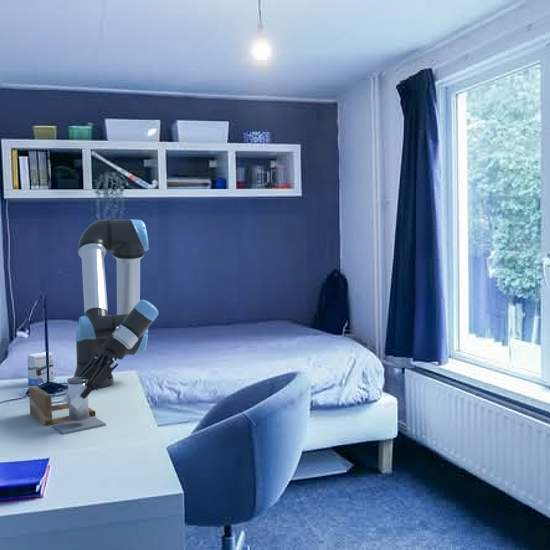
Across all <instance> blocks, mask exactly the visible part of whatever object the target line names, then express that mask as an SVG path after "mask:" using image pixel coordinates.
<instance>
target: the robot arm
mask: <svg viewBox="0 0 550 550" xmlns="http://www.w3.org/2000/svg"><path fill="white" fill-rule="evenodd" d="M149 249H150V247H149V237H148V232H147V226H146V224H145V222H144V221H143V220H141V219H132V218H129V219H128V218H126V219H99V220H96V221H94V222H91V224H89V225H88V226H87V228H85V230H84V231H82V234H81V235H80V238H79V241H78V245H77V251H78V257H80V258H81V271H82V291H83V307H84V308H83V309H84V315H82V316H79V318H78V328H77V329H76V330H75V331H76V332H75V343H76V346H75V347H76V348H75V349H76V352H75V353H76V367H75V371H74V375H73V377H88V383H85V385H86V386H87V387H86V386H85V385H84V386H83V388H82V389H81V390H80V391H79V393H78V394H77V395H76V396H75V397H74V399H73V400H72V401H71V402H70V404H71V405H73V406H74V407H75V408H76V409H78V407H79V406H80V405H81V404H82V403H83V401H84V400H85V399H86V398H87V396H88V397H89V395H90V394H91V393H92V392H94V391H98V390H99V389H101V388H100V387H102V388H107V387H109V385H110V386H111V384H112V385H113V384H114V375H113V373H112V372H113V371H114V370H115V369H116V368H117V367H118V366H119V363H117V359H118V360H119V361H121V360H123V359H124V358H125V357H126V356H135V355H141V354H143V353H144V352H145V351H146V349H147V346H148V339H149V338H148V337H149V336H148V335H149V334H148V332H149V327H150V326H151V325H152V324H153V322H154V321H155V320H156V319H157V317H158V316H159V310H158V309H157V307H156V306H154V305H153V304H152V303H151V302H149V301H148V300H146V299H141V259H143V258H144V257H145V252H147V251H149ZM107 252H112V253H111V255H112V257H113V258H114V259H115V260H116V314H109V311H108V307H109V306H108V296H107V282H106V270H105V269H106V268H105V257H106V255H107ZM106 386H107V387H106ZM62 400H63V401H65V403H68V404H69V397H68V392H67V393H66V394H65V395H64V396H63V398H62Z"/></svg>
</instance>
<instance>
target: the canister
mask: <svg viewBox="0 0 550 550" xmlns="http://www.w3.org/2000/svg"><path fill="white" fill-rule="evenodd" d="M66 380H67V393H68V397H69V408H68V414H69V415H68V416H69V420H71V421H81V420H85V419H88V418H90V417H89V409H88V407H89V395H88V396H87V398H86V399H85V400H84V401H83V403H82V404H81V405H80V406H79V407H78V409H76V408H75V407H74V406H73V405H71V404H70V402H71V401H72V400H73V399H74V397H75V396H76V395H77V394H78V393H79V391H80V390H81V389H82V388H83V386H84V385H85V383H88V377H74V376H73V377H69V378H68V379H66ZM85 386H86V385H85ZM86 387H87V386H86ZM71 421H70V422H71Z"/></svg>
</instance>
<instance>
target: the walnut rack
mask: <svg viewBox="0 0 550 550" xmlns="http://www.w3.org/2000/svg"><path fill="white" fill-rule="evenodd" d="M28 392H29V393H28V396H29V399H28V400H29V414H30V416H32V417H34V419H36V420H37V421H39V422H40V424H42V425H44V426H45V427H47V426H53V425H55V424H60V423H66V422H71V420H69V415H66V416H59V417H54V418H53V412H54V411H58V410H59V411H60V410H64V409H69V404H68V403H67V402H64V403H58V404H53V405H52V401H53V400H52V395H51V394H50V393H48V392H46V391H45V390H43V389H42V388H40V387H39V386H32V385H29V386H28ZM88 409H89V418H91V417H96V411H95V410H94V409H92V408H90V407H89V406H88Z"/></svg>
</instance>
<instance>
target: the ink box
mask: <svg viewBox="0 0 550 550" xmlns="http://www.w3.org/2000/svg"><path fill="white" fill-rule="evenodd" d="M46 352H47V351H43V352H37V353H32V354H31V353H30V354H28V355H27V376H28V377H27V378H28V379H27V380H28V383H27V384H28V386H36V385H39V384H41V383H44V382H46V380H47V366H46ZM54 362H55V361H54V352H53V353H52V352H49V376H50V381H54V382H55V367H54V365H55V363H54ZM39 386H40V385H39Z"/></svg>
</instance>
